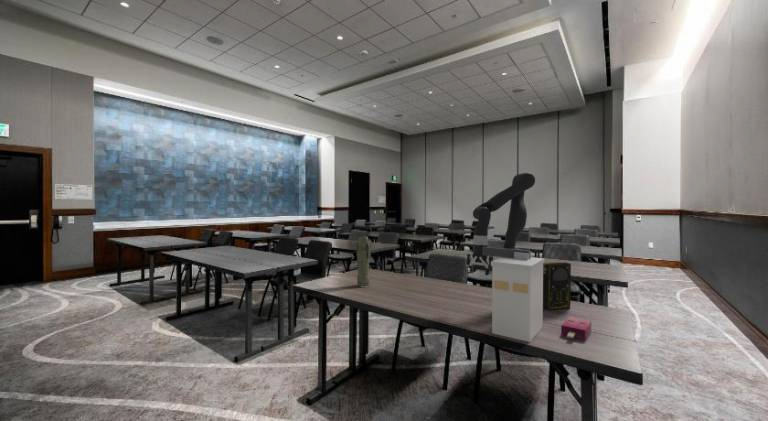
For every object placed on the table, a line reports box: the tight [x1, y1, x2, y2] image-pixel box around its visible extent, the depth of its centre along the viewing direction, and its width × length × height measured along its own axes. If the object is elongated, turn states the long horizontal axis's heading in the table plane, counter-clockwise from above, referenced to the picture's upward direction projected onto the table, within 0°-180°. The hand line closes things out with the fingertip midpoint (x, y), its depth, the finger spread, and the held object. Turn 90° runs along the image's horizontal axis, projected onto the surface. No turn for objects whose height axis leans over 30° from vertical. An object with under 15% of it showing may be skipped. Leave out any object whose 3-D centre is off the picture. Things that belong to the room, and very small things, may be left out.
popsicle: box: [560, 316, 592, 341], centre depth 148 cm, size 9×5×20 cm
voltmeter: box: [543, 261, 572, 311], centre depth 187 cm, size 16×9×25 cm, turn 105°
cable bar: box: [482, 246, 532, 260], centre depth 162 cm, size 22×6×4 cm, turn 52°
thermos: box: [356, 235, 371, 288], centre depth 237 cm, size 9×12×35 cm
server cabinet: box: [491, 256, 546, 343], centre depth 153 cm, size 17×23×32 cm
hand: (479, 274), depth 181 cm, fingers open, 8 cm apart
